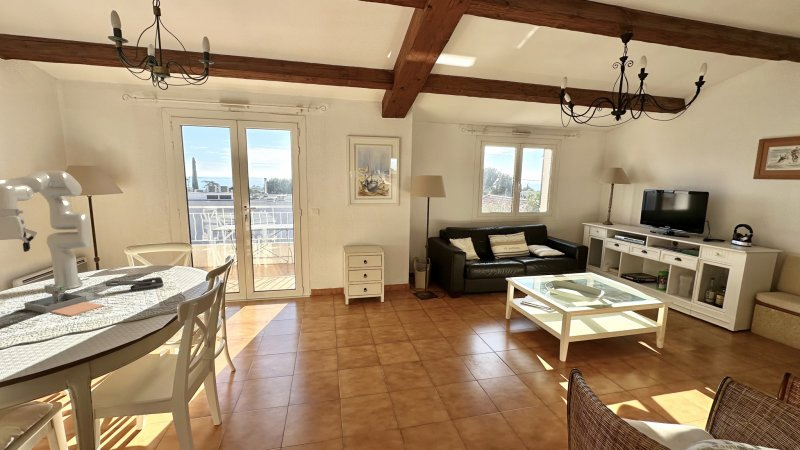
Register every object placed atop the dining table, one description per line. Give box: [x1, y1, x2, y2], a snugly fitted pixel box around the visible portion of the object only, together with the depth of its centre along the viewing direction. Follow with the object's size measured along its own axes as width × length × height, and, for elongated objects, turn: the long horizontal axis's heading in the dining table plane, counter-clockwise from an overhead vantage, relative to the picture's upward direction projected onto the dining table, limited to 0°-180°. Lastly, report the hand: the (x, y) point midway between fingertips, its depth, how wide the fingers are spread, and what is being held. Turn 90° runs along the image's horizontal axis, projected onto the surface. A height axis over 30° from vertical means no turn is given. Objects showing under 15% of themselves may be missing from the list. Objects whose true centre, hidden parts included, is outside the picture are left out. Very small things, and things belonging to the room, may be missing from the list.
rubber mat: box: [50, 301, 105, 317], centre depth 156 cm, size 13×14×1 cm
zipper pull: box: [105, 276, 164, 293], centre depth 184 cm, size 9×7×25 cm
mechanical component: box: [43, 283, 66, 304], centre depth 160 cm, size 3×10×10 cm, turn 79°
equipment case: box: [23, 291, 106, 314], centre depth 164 cm, size 24×16×3 cm, turn 163°
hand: (10, 252), depth 144 cm, fingers open, 9 cm apart
